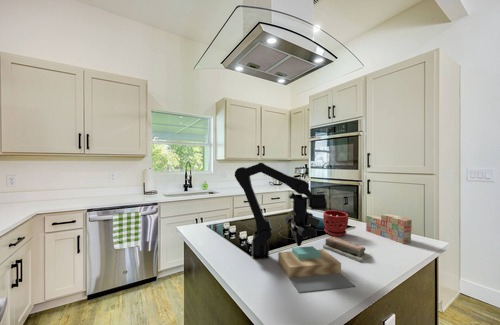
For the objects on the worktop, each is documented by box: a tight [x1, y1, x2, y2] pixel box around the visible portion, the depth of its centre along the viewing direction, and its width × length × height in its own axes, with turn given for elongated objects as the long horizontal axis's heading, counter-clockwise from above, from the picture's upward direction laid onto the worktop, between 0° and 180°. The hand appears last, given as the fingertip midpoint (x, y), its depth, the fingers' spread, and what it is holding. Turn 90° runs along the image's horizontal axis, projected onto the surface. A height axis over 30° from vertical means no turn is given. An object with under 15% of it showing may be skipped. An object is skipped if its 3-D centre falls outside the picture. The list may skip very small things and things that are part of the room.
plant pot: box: [322, 209, 349, 237], centre depth 121 cm, size 13×13×12 cm
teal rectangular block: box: [291, 246, 320, 260], centre depth 85 cm, size 9×6×2 cm, turn 101°
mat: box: [288, 272, 356, 294], centre depth 73 cm, size 20×8×1 cm, turn 101°
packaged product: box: [322, 236, 372, 263], centre depth 98 cm, size 18×5×10 cm
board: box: [277, 248, 342, 279], centre depth 83 cm, size 20×12×4 cm, turn 101°
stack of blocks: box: [365, 213, 412, 245], centre depth 120 cm, size 21×6×12 cm, turn 24°
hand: (298, 245), depth 91 cm, fingers closed
